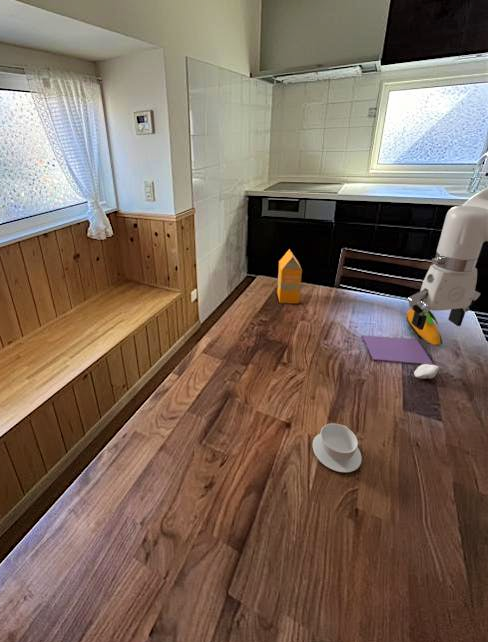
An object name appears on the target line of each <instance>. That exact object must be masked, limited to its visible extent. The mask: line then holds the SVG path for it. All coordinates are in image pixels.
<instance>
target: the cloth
mask: <svg viewBox="0 0 488 642" xmlns="http://www.w3.org/2000/svg"><path fill="white" fill-rule="evenodd" d="M362 338H363V339H364V342H365V345H366V347H367V350H368V352H369V354H370V356H371V359H372V361H378V362H379V361H380V362H381V361H382V362H390V363H391V362H392V363H393V362H394V363H402V364H403V363H404V364H412V365H413V364H414V365H422V364H430V365H434V363H433V361H432V359H431V357H429V356H428V354H427V352H426V351H425V349H424V348H423V346H422V345H421V343H420V341H419V340H418V339H411V338H398V337H396V338H395V337H384V336H371V335H363V336H362Z"/></svg>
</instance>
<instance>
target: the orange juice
mask: <svg viewBox="0 0 488 642" xmlns="http://www.w3.org/2000/svg"><path fill="white" fill-rule="evenodd" d="M302 274H303V269H302V267H301V264H300V262H299V261H298V259H297V258H296V256H295V255H294V253H293V252H292V251H291V249H290V248H289V249H288V250H287V251H286V252H285V253H284V255H283V256H282V257H281V258H280V259H279V260H278V274H277V290H276V294H277V298H278V302H279V304H300V298H301V297H300V296H301V288H302V287H301V285H302Z"/></svg>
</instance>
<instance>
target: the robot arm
mask: <svg viewBox="0 0 488 642" xmlns="http://www.w3.org/2000/svg"><path fill="white" fill-rule="evenodd" d="M484 242H488V186H487V187H485V188H483V189H482V190H481V191H479V192H478V193H476V194H474V195H473V196H471V197H470V198H468V200H466V201H464V203H463V204H462V205H457V206H453V207H451V208H450V209H448V211H447V213H446V214H445V218H444V222H443V226H442V230H441V234H440V237H439V240H438V243H437V248H436V252H435V256H434V258H432V259H431V260H430V262H431V264H430V266H429V269H428V271H427V272H426V274H425V277H424V278H423V281H422V285H421V288H420V291H418V292H416V293H414V294H412V295H410V296H409V297H407V302H408V304H409V307H410V309H411V308H412V310H413V311H415V312H414V316H413V319H412V324H413V325H414V326H415V327H417V328H418V329H419V330H423V328H424V325H425V321H426V316H425V314H426V313H427V312H428V311H431V310H432V311H436V312H437V311H448V310H450V312H449V315H448V321H449V322H451V323H452V324H453V325H455V326H457V327H461V326H462V324H463V322H464V321H463V320H464V318H465V315H466V313H467V312H469V311H470V307H472V306H473V305H474V304H475V303H476V301H477V300H478V298H480V296H481V292H479V291H477V290H476V288H477V287H476V286H477V281H478V280H477V279H478V269H477V268H476V267H477V263H478V261H479V260H478V259H479V256H480V254H481V250H482V247H483V244H484ZM423 306H424V307H423ZM421 307H423V309H421Z"/></svg>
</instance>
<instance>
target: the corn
mask: <svg viewBox="0 0 488 642" xmlns="http://www.w3.org/2000/svg"><path fill="white" fill-rule="evenodd" d="M423 308H424V307H423V306H422V307H421V309H423ZM414 312H415V311H413V310H412V308H411V307H410V309H408V310H407V312H406V320H407V323H408V325H409V327H410V328H411V330H412V331H413V332H414V333H415V335H416V336H417V337H418V338H419V339H423V340H424V341H425V342H427V343H429V344H431V345H433V346H435V347H437V346H443V344H444V343H443V339H442V335H441V334H440V332H439V330H438V327H437V326H439V323H438V321H437V318H436V316H435V315H434V314H433V313H432V311H431V310H429V311H428V312H427V313H426V314H425V316H426V321H425V325H424V328H423V330H419V329H418V328H417V327H415V326H414V325H413V324H412V319H413V316H414Z"/></svg>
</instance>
